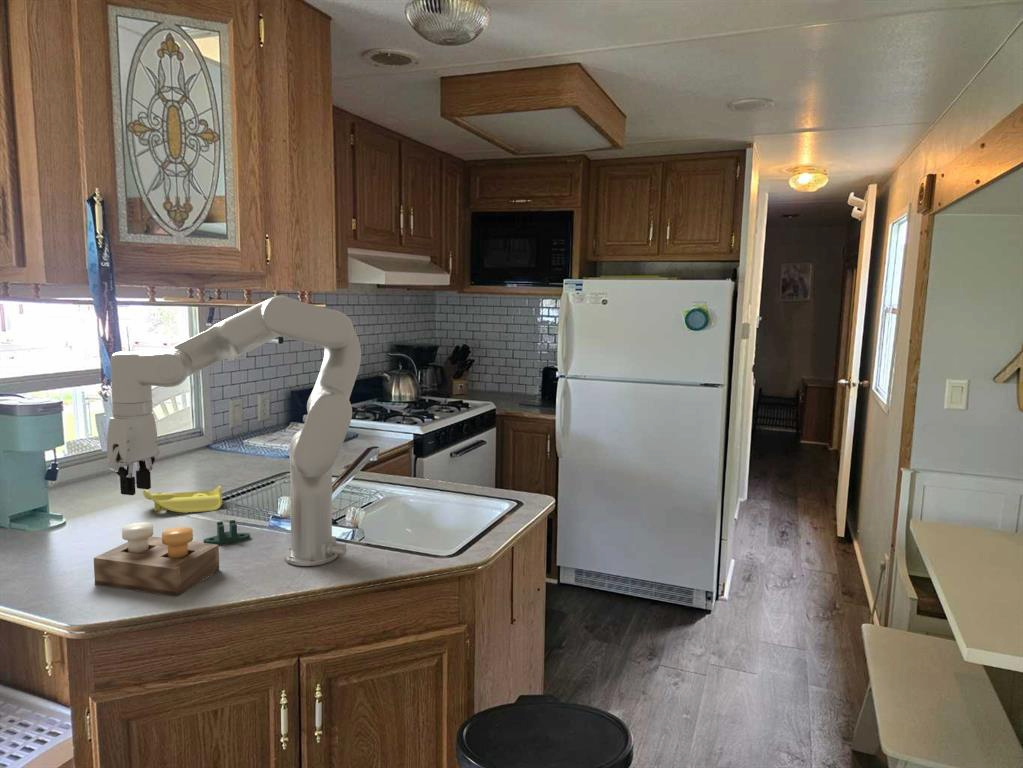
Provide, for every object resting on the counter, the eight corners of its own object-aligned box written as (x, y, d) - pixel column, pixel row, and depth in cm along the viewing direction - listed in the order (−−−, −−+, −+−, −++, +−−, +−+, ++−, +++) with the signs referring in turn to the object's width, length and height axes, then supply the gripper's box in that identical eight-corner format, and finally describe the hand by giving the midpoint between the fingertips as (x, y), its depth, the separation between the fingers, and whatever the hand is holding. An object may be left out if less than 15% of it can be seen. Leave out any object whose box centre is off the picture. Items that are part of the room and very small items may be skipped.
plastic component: (215, 491, 204) (221, 484, 196) (215, 515, 202) (222, 509, 194) (141, 495, 192) (145, 488, 185) (141, 520, 190) (145, 515, 183)
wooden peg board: (219, 569, 153) (218, 544, 152) (176, 596, 139) (176, 568, 139) (143, 559, 157) (142, 535, 156) (94, 584, 143) (93, 557, 143)
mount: (204, 548, 166) (203, 528, 165) (202, 541, 170) (202, 523, 169) (251, 541, 171) (251, 522, 170) (248, 535, 175) (248, 517, 174)
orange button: (199, 554, 149) (198, 528, 148) (180, 564, 143) (180, 538, 142) (175, 551, 150) (174, 525, 149) (156, 561, 144) (155, 534, 143)
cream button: (160, 549, 151) (159, 523, 150) (140, 559, 145) (139, 533, 144) (137, 546, 152) (135, 521, 151) (116, 556, 146) (115, 530, 145)
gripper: (145, 402, 153) (149, 479, 155) (85, 414, 137) (90, 501, 139) (174, 404, 151) (177, 482, 154) (117, 417, 135) (121, 504, 138)
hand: (136, 490), depth 147 cm, fingers open, 3 cm apart
